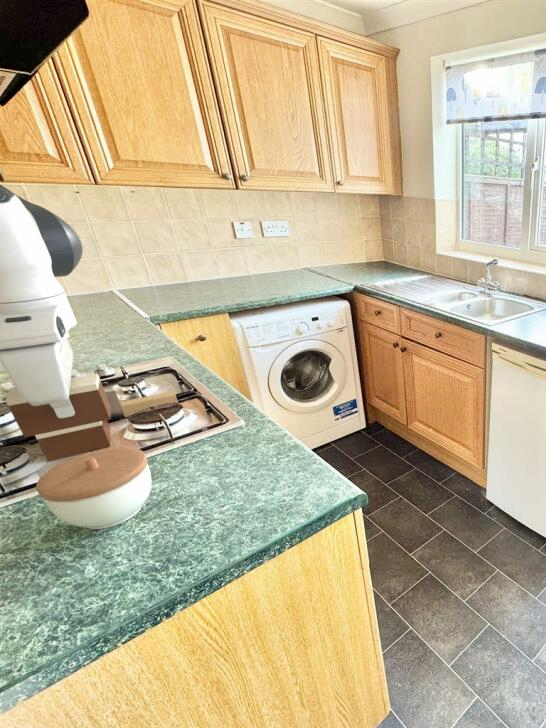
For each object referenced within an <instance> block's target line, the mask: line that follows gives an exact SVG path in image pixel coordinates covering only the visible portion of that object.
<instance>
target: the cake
mask: <svg viewBox="0 0 546 728" xmlns="http://www.w3.org/2000/svg"><path fill="white" fill-rule="evenodd" d="M108 421H109V420H104V421H100V422H95V423H90V424H86V425H81V426H76V427H72V428H67V429H62V430H57V431H53V432H48V433H43V434H39V435H34V437H35V438H36V440H37V442H38V445H39V447H40V449H41V451H42V453H43V455H44V457H45V459H46V460H47V462H51V461H56V460H60V459H64V458H68V457H72V456H75V455H76V456H77V455H81V454H85V453H89V452H92V451H91V449H93V451H96V450H101V449H106V448H110V447H111V429H110V428H111V427H110V424H109V422H108Z"/></svg>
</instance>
